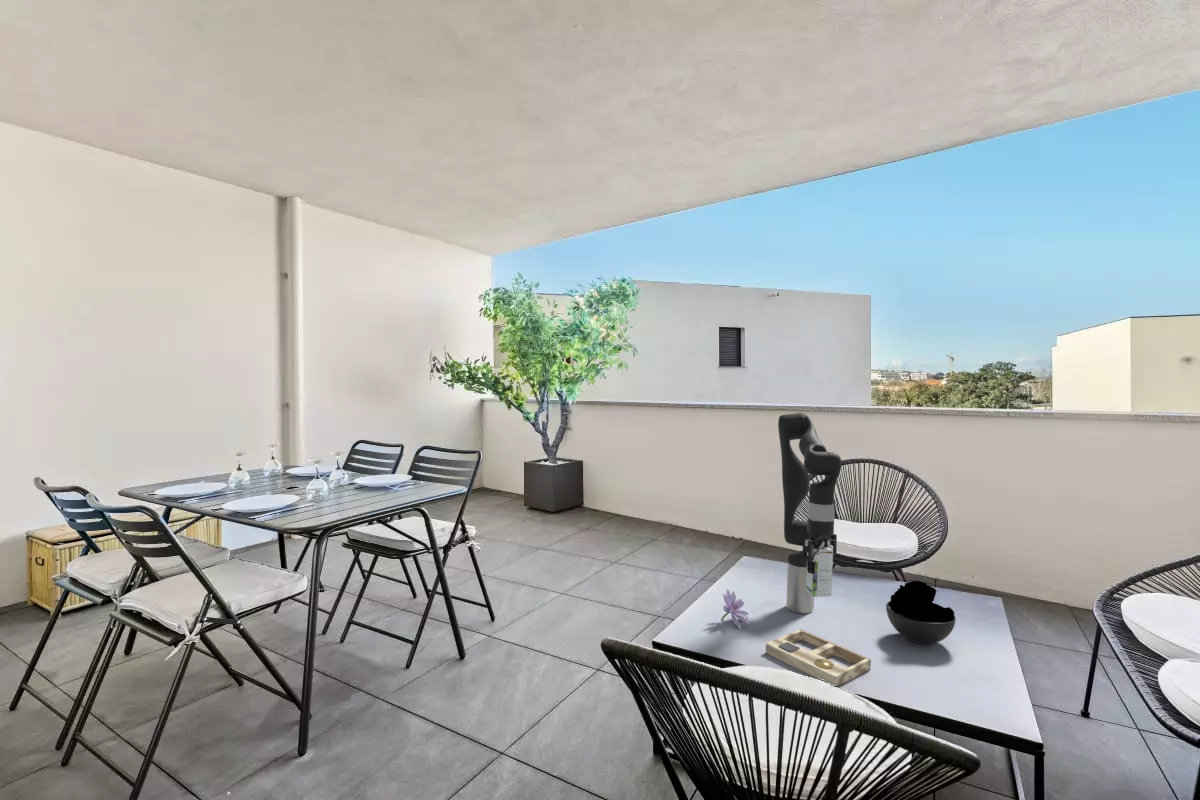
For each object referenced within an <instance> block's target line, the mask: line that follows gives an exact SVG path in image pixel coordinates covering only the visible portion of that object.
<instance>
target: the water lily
mask: <svg viewBox="0 0 1200 800" xmlns="http://www.w3.org/2000/svg"><path fill="white" fill-rule="evenodd" d="M725 593H726V594H725ZM725 593H722V597H723V600H724V603H725V604H724V605H723V606H722V610H723V611H724V612H725V614H723V616H722V617H721V619H722V620H724V619H725V618H726V617H727V616H728V615H729V614H730V616H731V619H732V622H733V623H734V624H735V625H736V627H737V628H738V629H739V627H740V628H742V627H741V623H740V622H739V620H740V621H741V622H743V623H745V624H747V625H750V623H749V621H748V619H746V618H748V617H749V616H748V615H749V612H747V611H745V610H741V608H742V607H744V605H745V601H743V599H741V598H739V599H737V596H736V594H735V591H734V590H732V592H730V590H729V589H728V588H726V592H725ZM736 599H737V600H736Z"/></svg>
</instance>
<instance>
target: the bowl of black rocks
mask: <svg viewBox="0 0 1200 800" xmlns="http://www.w3.org/2000/svg"><path fill="white" fill-rule="evenodd" d="M936 594H937V589H936V588H935V587H933V586H931V585H930V584H929V585H928V584H927V583H926V582H925V581H921V580H913V581H909V582H905V583H904V585H902V584H899V588H897V590H896V591H895V592H894V593H893V594H890V595H891V596H890V601H888V602H887V603H886V605H885V610H886V614H887V618H888V620H889V622H890V624H891V625H892V627H893V628H894V629H895V631H897V632H898V634H900V635H901V636H902V637H904V638H906V639H907V640H909V641H911V642H914V643H917V644H924V645H925V644H926V645H929V644H936V643H939V642H941V641H943V640H945V639H946V638H947V637H948V636H949V635H950V634H951V633H952V631H953V629H954V627H955V626H956V620H957V619H956V616H955V611H954V610H953V608H951V607H950V606H947V607H944V606H942V605H940V604H938V603H935V602H934V601H935V597H936Z"/></svg>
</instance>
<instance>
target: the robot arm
mask: <svg viewBox="0 0 1200 800" xmlns="http://www.w3.org/2000/svg"><path fill="white" fill-rule="evenodd" d="M777 428H778V429H777V430H778V437H779V443H780V444H779V445H780V454H781V477H782V479H781V480H782V492H783V507H784V508H783V509H784V511H783V513H784V514H783V517H784V518H783V535H784V540H785V542H786V543H787V544H788V545H795V546H800V547H802V550H800V551H795V552H791V553H789V554H788V555H787V571H786V572H787V575H786V576H787V577H786V609H787V610H789V611H790V612H794V613H797V614H810V613H812V612H813V610H814V606H815V605H814V604H815V597H814V596H813V595H811V594H810V593H809V592H808V591H806V571H807V572H808V573H811V574H814V573H815V560H816V555H819V554H820V549H822V548H823V547H828V548H830V549H833V555H834V554H837V548H838V547H837V546H838V545H837V541H838V537H837V534H836V533H834V531H835V489H836V484H837V481H838V478H839V475H840V472H841V470H842V458H841V456H840V455H839V454H838V453H837V452H835V451H827V448H826V446H825V445H824V444H823V442H822V441H821V440H820V438H819V436H818V433H817V430H816V428H815V426H814V423H813V421H812V418H811V417H810V415H809V414H808V413H804V412H799V413H798V412H797V413H796V412H795V413H789V414H781V415H780V416H779V417H778V422H777ZM793 440H794V441H795V440H799V441H798V448H799V450H800V451H799V452H800V453H801V454H802V456H803V459H804V460H803V462H802V461H801V459H800V458H798V456H797V454H796V453H795V452H794V450H793V449H792V446H791V441H793ZM810 475H812V476H813V475H814V476H825V477H824V479H822V480H821V481H820V480H819V481H815V482H812V483H810ZM807 496H808V507H807V521H806V520H800V519H796V518H795V514H796V512H797V510H798V508H799V506H800V505H801V503H802V502H803V501H804V500H805V498H806V497H807ZM812 548H815V549H817V551H816V552H815V551H813V550H812ZM807 552H808V554H807ZM812 554H814V555H813V557H812Z"/></svg>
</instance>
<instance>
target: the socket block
mask: <svg viewBox="0 0 1200 800" xmlns="http://www.w3.org/2000/svg"><path fill="white" fill-rule="evenodd" d="M800 641H803V642H806V643H807V644H810V645H812V646H814V647H816V648H815V649H814V648H813V650H808V649H806V648H804V647H801V646H799V645H796V644H795V643H797V642H800ZM765 653H766V654H767V653H768V654H767V655H769V654H770V656H771V655H772V657H773V656H774V657H773V658H775V657H776V659H777V658H778V660H779V661H782V662H784V663H786V664H787V665H790V666H792V667H794V666H795V667H794V668H796V669H798V670H800V671H802V672H804V673H806V674H808V675H809V676H812V677H813V678H816V677H818V678H820V679H824V680H825V681H827V682H829V683H831V684H833V685H836V686H838V687H839V686H841V685H843V684H845V683H847V682H849V681H851V680H853V679H855V678H856V677H858V676H860V675H862V674H864V673H866V672H868V671H869V670H871V668H872V667H871V666H872V665H871V663H872V659H871V658H869V657H867V656H865V655H862V654H860V653H857V652H855V651H853V650H851V649H848V648H846V647H843V646H841V645H839V644H836V643H834V642H832V641H829V640H828V639H825V638H822V637H820V636H818V635H816V634H813V633H811V632H808V631H806V630H803V629H801V628H800V629H798V630H796V631H793V632H790V633H788V634H785V635H783V636H780V637H778V638H775V639H773V640H771V641H768V642H765ZM833 656H836V657H839V658H841V659H843V660H845V661H847V662H850V663H852V664H853V665H851V666H849V667H845V666H843V665H840V664H839V663H836V662H834V661H833V660H830V659H829V658H831V657H833ZM818 678H817V679H818ZM820 679H819V680H820ZM846 681H847V682H846ZM844 682H845V683H844ZM842 683H843V684H842Z"/></svg>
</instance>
